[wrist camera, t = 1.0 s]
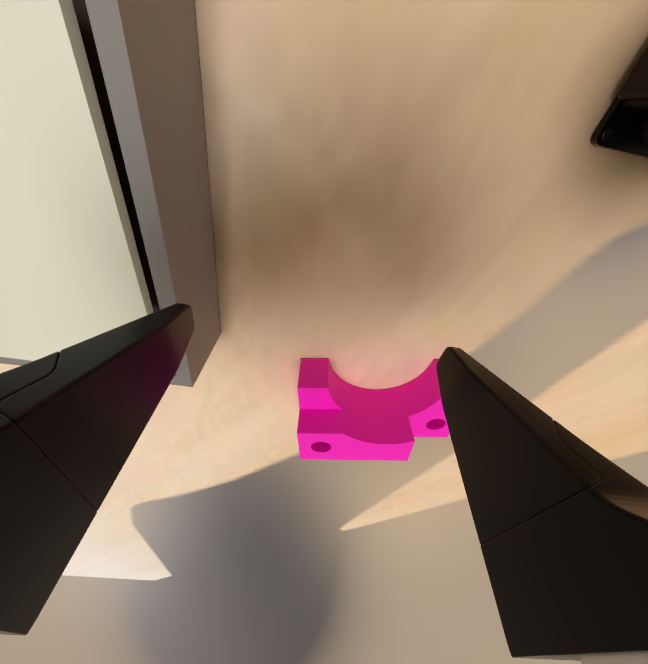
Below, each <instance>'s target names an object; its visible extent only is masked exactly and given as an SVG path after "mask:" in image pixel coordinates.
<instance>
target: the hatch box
mask: <svg viewBox="0 0 648 664" xmlns="http://www.w3.org/2000/svg"><path fill="white" fill-rule="evenodd" d="M85 3H86V7H87V11H88V15H89V19H90V23H91V27H92V32H93V36H94V40H95V44H96V48H97V52H98V56H99V60H100V65H101V69H102V73H103V77H104V81H105V85H106V89H107V93H108V97H109V102H110V106H111V110H112V114H113V118H114V122H115V126H116V130H117V135H118V139H119V143H120V147H121V151H122V155H123V159H124V163H125V167H126V172H127V176H128V180H129V184H130V188H131V192H132V196H133V200H134V205H135V209H136V213H137V217H138V221H139V225H140V229H141V233H142V237H143V242H144V246H145V250H146V254H147V258H148V262H149V266H150V270H151V275H152V279H153V283H154V287H155V291H156V295H157V299H158V303H159V307H160V310H161V309H164V308H166V307H168V306H171V305H173V304H176V303H182V304H188V305H190V306H191V307H192V310H193V317H194V324H195V328H194V332H193V334H192V337H191V339H190V342H189V344H188V347H187V349H186V351H185V354H184V356H183V359H182V361H181V363H180V366H179V368H178V370H177V372H176V374H175V376H174V377H173V379H172V381H171V383H170V384H173V385H181V386H189V387H193V385H194V383H195V381H196V380H197V378H198V376H199V374H200V372H201V370H202V368H203V366H204V364H205V362H206V361H207V359H208V357H209V355H210V353H211V351H212V349H213V347H214V345H215V344H216V342H217V340H218V338H219V336H220V334H221V326H220V313H219V300H218V288H217V275H216V263H215V250H214V238H213V225H212V213H211V200H210V188H209V175H208V163H207V150H206V138H205V125H204V113H203V100H202V87H201V75H200V62H199V50H198V37H197V25H196V12H195V0H85ZM30 362H33V361H30V360H22V359H14V358H6V357H0V363H5V364H13V365H21V366H22V365H25V364H27V363H30Z"/></svg>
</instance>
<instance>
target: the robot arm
mask: <svg viewBox="0 0 648 664" xmlns="http://www.w3.org/2000/svg"><path fill="white" fill-rule="evenodd" d="M606 131H607V134H606V136H605V137H604V138H603V139H602V136H603V134H604V133H605V132H606ZM591 142H592V144H593V145H594V146H599V147H603V148H607V149H611V150H615V151H620V152H624V153H628V154H632V155H636V156H641V157H645V158H648V49H647V50H646V52H645V53H644V55H643V56H642V58H641V60H640V61H639V63H638V64H637V66H636V67H635V69H634V70H633V72H632V74H631V75H630V77H629V78H628V80H627V81H626V83H625V85H624V86H623V88H622V89H621V91H620V93H619V94H618V96H617V97H616V99H615V100H614V102H613V104H612V105H611V107H610V108H609V110H608V111H607V113H606V114H605V116H604V118H603V119H602V121H601V122H600V124H599V125H598V127H597V129H596V130H595V132H594V133H593V135H592V138H591ZM194 328H195V324H194V317H193V310H192V307H191V306H190V305H188V304H182V303H176V304H173V305H171V306H168V307H166V308H164V309H161V310H159V311H156V312H154V313H151V314H149V315H146V316H144V317H141V318H139V319H136V320H134V321H132V322H129V323H127V324H124V325H122V326H119V327H117V328H114V329H112V330H109V331H107V332H104V333H102V334H99V335H97V336H95V337H92V338H90V339H87V340H85V341H82V342H80V343H77V344H75V345H72V346H70V347H67V348H65V349H62V350H61V351H60V352H55V353H52V354H50V355H48V356H45V357H43V358H40V359H38V360H35V361H33V362H30V363H27V364H25V365H22V366H20V367H17V368H15V369H12V370H9V371H6V372H3V373H1V374H0V634H7V635H26V634H27V633H28V632H29V630H30V629H31V627H32V626H33V624H34V622H35V621H36V619H37V617H38V615H39V614H40V612H41V610H42V608H43V607H44V605H45V603H46V601H47V600H48V598H49V596H50V594H51V593H52V591H53V589H54V587H55V585H56V584H57V582H58V580H59V578H60V577H61V575H62V573H63V571H64V570H65V568H66V566H67V564H68V563H69V561H70V559H71V557H72V556H73V554H74V552H75V550H76V549H77V547H78V545H79V543H80V541H81V540H82V538H83V536H84V534H85V533H86V531H87V529H88V527H89V526H90V524H91V522H92V520H93V519H94V517H95V515H96V513H97V510H98V509H99V508H100V506H101V504H102V502H103V501H104V499H105V497H106V495H107V493H108V492H109V490H110V488H111V486H112V485H113V483H114V481H115V479H116V478H117V476H118V474H119V472H120V471H121V469H122V467H123V465H124V464H125V462H126V460H127V458H128V457H129V455H130V453H131V451H132V449H133V448H134V446H135V444H136V442H137V441H138V439H139V437H140V435H141V434H142V432H143V430H144V428H145V427H146V425H147V423H148V421H149V420H150V418H151V416H152V414H153V412H154V411H155V409H156V407H157V405H158V404H159V402H160V400H161V398H162V397H163V395H164V393H165V391H166V390H167V388H168V386H169V384H170V383H171V381H172V379H173V377H174V376H175V374H176V372H177V370H178V368H179V366H180V363H181V361H182V359H183V356H184V354H185V351H186V349H187V347H188V344H189V342H190V339H191V337H192V334H193V332H194ZM436 370H437V376H438V383H439V389H440V395H441V401H442V406H443V410H444V414H445V418H446V421H447V425H448V429H449V432H450V436H451V440H452V443H453V447H454V451H455V454H456V458H457V461H458V465H459V469H460V472H461V476H462V480H463V483H464V487H465V491H466V494H467V498H468V501H469V505H470V509H471V512H472V516H473V520H474V523H475V527H476V530H477V534H478V538H479V541H480V544H481V549H482V553H483V557H484V560H485V564H486V568H487V571H488V575H489V578H490V582H491V586H492V589H493V593H494V596H495V600H496V604H497V608H498V611H499V615H500V619H501V622H502V626H503V629H504V633H505V637H506V640H507V644H508V647H509V650H510V653H511V656H512V657H513V658H534V659H557V660H577V661H578V660H579V661H581V664H648V487H647V486H646V485H644V484H643V483H641V482H640V481H639V480H637V479H636V478H634V477H633V476H631V475H630V474H629V473H627V472H625V471H624V470H623V469H621V468H620V467H618V466H617V465H616V464H614V463H613V462H611V461H610V460H608V459H607V458H606V457H604V456H603V455H601V454H600V453H599V452H597V451H596V450H594V449H593V448H591V447H590V446H589V445H587V444H586V443H584V442H583V441H582V440H580V439H579V438H578V437H576V436H575V435H574V434H572V433H571V432H570V431H568V430H567V429H566V428H564V427H563V426H562V425H560V424H559V423H558V422H556V421H555V420H553V419H552V418H551V417H550V416H548V415H547V414H546V413H544V412H543V411H542V410H541V409H539V408H538V407H537V406H535V405H534V404H533V403H531V402H530V401H529V400H527V399H526V398H525V397H523V396H522V395H521V394H519V393H518V392H517V391H515V390H514V389H513V388H511V387H510V386H509V385H508V384H506V383H505V382H503V381H502V380H501V379H500V378H498V377H497V376H496V375H494V374H493V373H492V372H491V371H489V370H488V369H487V368H485V367H484V366H483V365H481V364H480V363H479V362H477V361H476V360H475V359H473V358H472V357H471V356H470V355H468V354H467V353H466V352H464V351H463V350H462V349H460V348H456V347H447V348H446V349H445V351H444V352H443V354H442V356H441V357H440V359H439V360H438V362H437V365H436Z"/></svg>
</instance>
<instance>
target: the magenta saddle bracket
mask: <svg viewBox="0 0 648 664" xmlns="http://www.w3.org/2000/svg"><path fill="white" fill-rule="evenodd" d="M438 360H439V359H434V360H433V362H432V364H431V365H430V366H429V368H428V369H427V370H426V371H425V372H424V373H423V374H422V375H420V376H419V377H418V378H416V379H414V380H413V381H411V382H409V383H407V384H404V385H402V386H399V387H395V388H390V389H384V390H369V389H363V388H358V387H355V386H353V385H350V384H348V383H346V382H345V381H343V380H342V379H340V378H339V377H338V376H337V375H336V374H335V372H334V371H333V370H332V368H331V366H330V363H329V359H313V358H301V364H300V372H299V380H298V397H299V407H300V411H299V421H298V430H297V436H298V444H299V452H300V459H330V460H333V459H335V460H406V461H407V460H408V457H409V454H410V452H411V449H412V447H413V444H414V437H447V436H448V434H449V429H448V425H447V421H446V418H445V414H444V410H443V406H442V401H441V395H440V389H439V383H438V376H437V370H436V365H437V362H438Z"/></svg>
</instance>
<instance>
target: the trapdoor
mask: <svg viewBox="0 0 648 664" xmlns="http://www.w3.org/2000/svg"><path fill="white" fill-rule="evenodd" d="M151 313H154V311H153V308H152V304H151V300H150V296H149V292H148V288H147V285H146V281H145V277H144V273H143V269H142V266H141V262H140V258H139V254H138V250H137V247H136V243H135V239H134V235H133V231H132V227H131V224H130V220H129V216H128V212H127V208H126V205H125V201H124V197H123V193H122V189H121V185H120V182H119V178H118V174H117V170H116V166H115V163H114V159H113V155H112V151H111V147H110V144H109V140H108V136H107V132H106V128H105V124H104V121H103V117H102V113H101V109H100V105H99V102H98V98H97V94H96V90H95V86H94V82H93V79H92V75H91V71H90V67H89V63H88V60H87V56H86V52H85V48H84V44H83V40H82V37H81V33H80V29H79V25H78V21H77V18H76V14H75V10H74V6H73V2H72V0H0V357H6V358H14V359H22V360H30V361H35V360H38V359H40V358H43V357H45V356H48V355H50V354H52V353H55V352H60V351H61V350H62V349H65V348H67V347H70V346H72V345H75V344H77V343H80V342H82V341H85V340H87V339H90V338H92V337H95V336H97V335H99V334H102V333H104V332H107V331H109V330H112V329H114V328H117V327H119V326H122V325H124V324H127V323H129V322H132V321H134V320H136V319H139V318H141V317H144V316H146V315H149V314H151Z"/></svg>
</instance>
